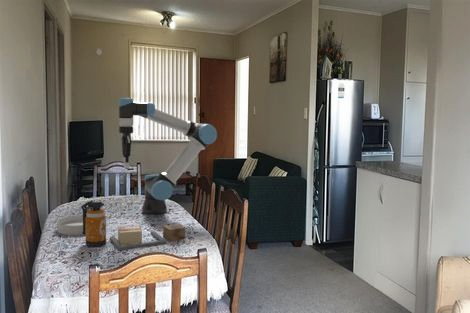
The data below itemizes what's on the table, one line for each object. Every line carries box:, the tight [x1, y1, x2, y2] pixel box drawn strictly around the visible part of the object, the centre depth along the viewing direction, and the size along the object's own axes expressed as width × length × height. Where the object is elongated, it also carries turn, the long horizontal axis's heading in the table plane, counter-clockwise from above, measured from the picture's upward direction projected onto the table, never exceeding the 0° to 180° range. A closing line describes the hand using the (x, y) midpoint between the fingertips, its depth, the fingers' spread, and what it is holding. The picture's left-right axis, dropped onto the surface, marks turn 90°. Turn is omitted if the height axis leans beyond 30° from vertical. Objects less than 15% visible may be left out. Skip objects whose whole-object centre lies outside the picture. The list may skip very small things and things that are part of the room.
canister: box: [80, 200, 107, 247], centre depth 185 cm, size 9×11×20 cm
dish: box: [56, 214, 83, 236], centre depth 209 cm, size 22×22×5 cm
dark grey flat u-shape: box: [109, 230, 167, 251], centre depth 191 cm, size 22×18×1 cm
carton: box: [117, 226, 143, 246], centre depth 190 cm, size 10×8×6 cm
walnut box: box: [162, 223, 186, 243], centre depth 196 cm, size 8×8×6 cm
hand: (126, 168), depth 226 cm, fingers closed
